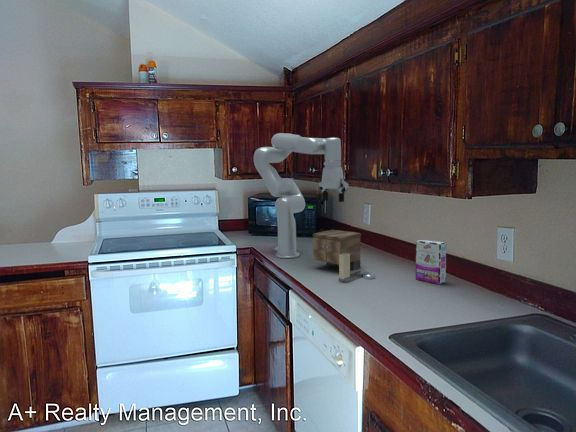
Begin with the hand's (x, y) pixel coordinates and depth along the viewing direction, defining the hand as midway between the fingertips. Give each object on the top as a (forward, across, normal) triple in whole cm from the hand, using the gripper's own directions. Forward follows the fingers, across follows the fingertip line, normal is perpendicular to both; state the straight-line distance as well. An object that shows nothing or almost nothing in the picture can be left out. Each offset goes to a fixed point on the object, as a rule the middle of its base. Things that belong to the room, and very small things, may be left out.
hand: (333, 201), depth 202 cm
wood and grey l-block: (+30, +22, -13) cm, 40 cm away
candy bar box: (+31, +48, +3) cm, 57 cm away
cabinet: (+30, +6, -5) cm, 31 cm away
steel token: (+31, +26, -9) cm, 41 cm away
